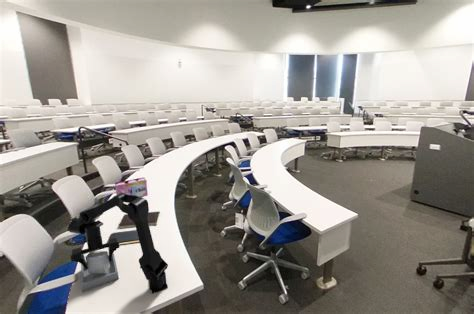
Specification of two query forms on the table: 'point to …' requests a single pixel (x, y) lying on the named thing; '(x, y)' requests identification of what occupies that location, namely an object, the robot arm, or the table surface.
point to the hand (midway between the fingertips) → (98, 265)
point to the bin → (98, 276)
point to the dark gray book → (125, 237)
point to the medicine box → (97, 262)
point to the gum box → (132, 187)
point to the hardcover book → (128, 222)
